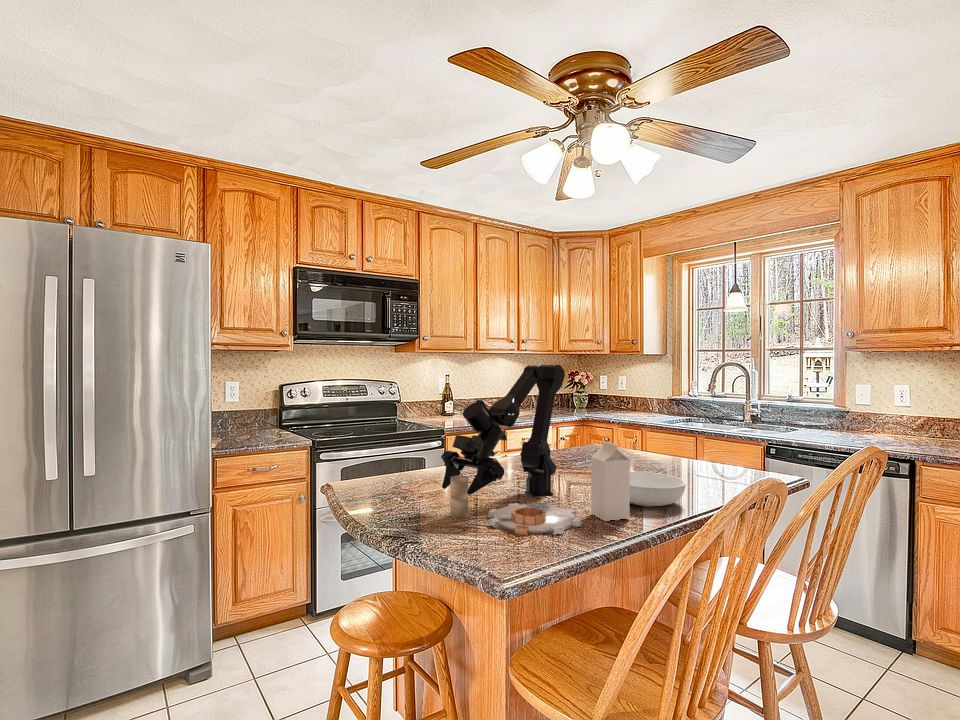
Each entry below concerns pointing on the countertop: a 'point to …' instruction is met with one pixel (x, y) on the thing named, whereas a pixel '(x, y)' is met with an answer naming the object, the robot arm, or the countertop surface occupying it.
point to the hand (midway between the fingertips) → (455, 491)
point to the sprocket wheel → (534, 518)
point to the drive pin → (459, 497)
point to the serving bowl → (655, 489)
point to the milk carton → (610, 483)
